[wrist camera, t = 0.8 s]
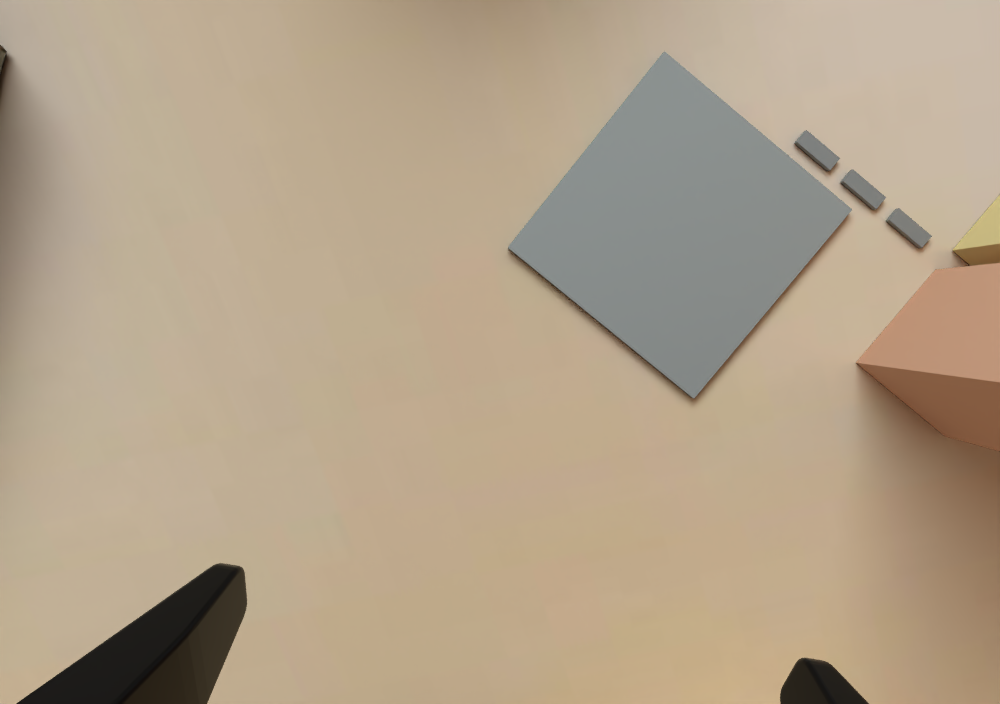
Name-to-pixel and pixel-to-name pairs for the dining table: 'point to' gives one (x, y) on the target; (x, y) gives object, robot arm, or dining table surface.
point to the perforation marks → (862, 189)
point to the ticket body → (982, 239)
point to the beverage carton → (2, 56)
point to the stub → (947, 354)
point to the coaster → (679, 226)
